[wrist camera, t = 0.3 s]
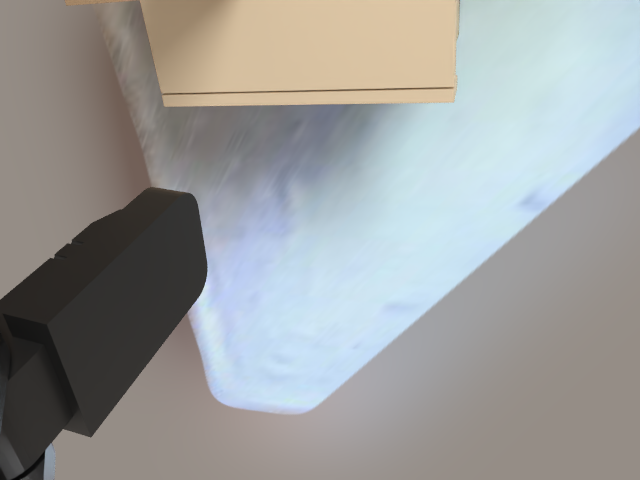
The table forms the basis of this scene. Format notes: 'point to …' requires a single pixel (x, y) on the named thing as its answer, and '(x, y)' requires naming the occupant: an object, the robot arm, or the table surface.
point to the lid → (301, 51)
